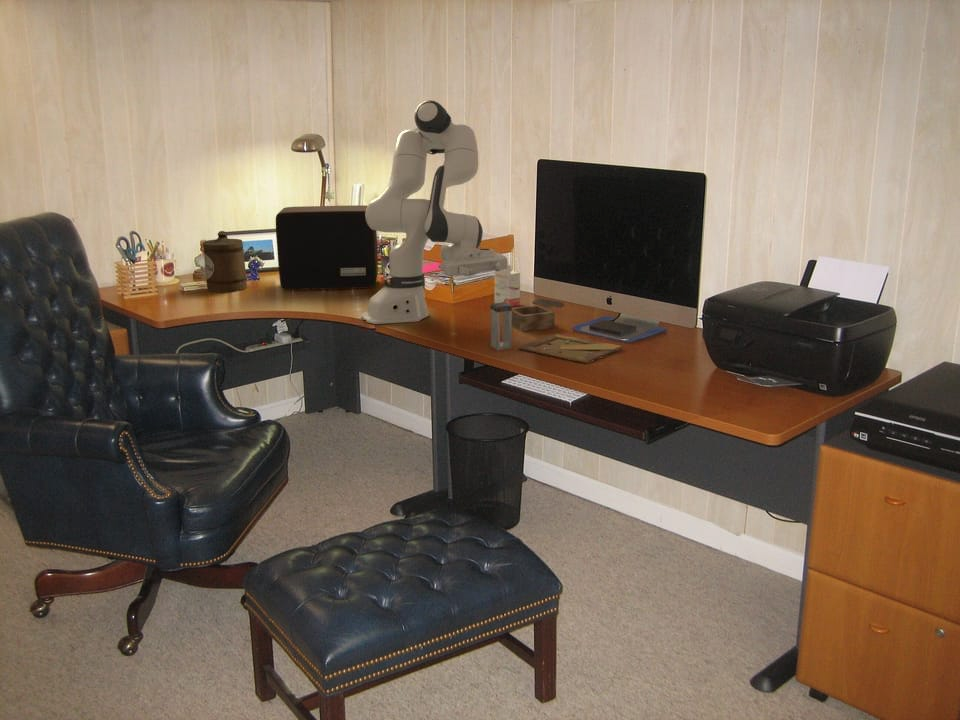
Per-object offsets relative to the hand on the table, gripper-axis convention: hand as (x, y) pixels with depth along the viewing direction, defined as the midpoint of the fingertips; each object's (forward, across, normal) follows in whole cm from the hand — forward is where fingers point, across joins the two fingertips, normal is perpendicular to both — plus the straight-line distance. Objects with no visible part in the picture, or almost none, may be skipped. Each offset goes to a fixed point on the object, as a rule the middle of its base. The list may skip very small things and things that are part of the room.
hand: (484, 270), depth 284 cm
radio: (-94, -26, +22) cm, 100 cm away
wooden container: (-106, -64, +22) cm, 126 cm away
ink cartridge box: (-37, +23, +23) cm, 49 cm away
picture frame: (+23, +17, +22) cm, 36 cm away
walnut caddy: (-7, +18, +22) cm, 29 cm away
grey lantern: (+13, 0, +21) cm, 24 cm away
